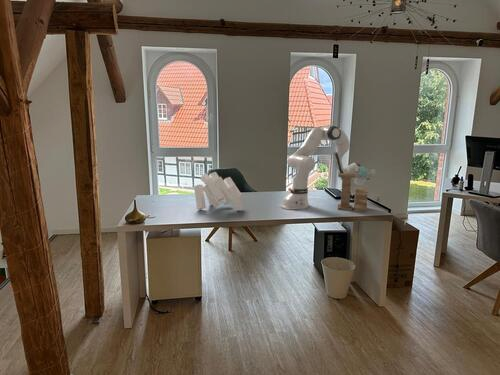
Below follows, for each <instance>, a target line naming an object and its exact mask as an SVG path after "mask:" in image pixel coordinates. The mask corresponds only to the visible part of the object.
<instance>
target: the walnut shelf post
mask: <svg viewBox="0 0 500 375" xmlns="http://www.w3.org/2000/svg"><path fill="white" fill-rule="evenodd" d="M337 175H338V176H337V177H338V178H340V177H342V180H341V191H340V192H341V194H340V203H339V204H337V210H338V211H339V210H341V211H352V210H353V206H352V204H350V199H351V198H350V197H351V185H352V184H351V183H352V179H354V178H355V174H351V173H337Z"/></svg>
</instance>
